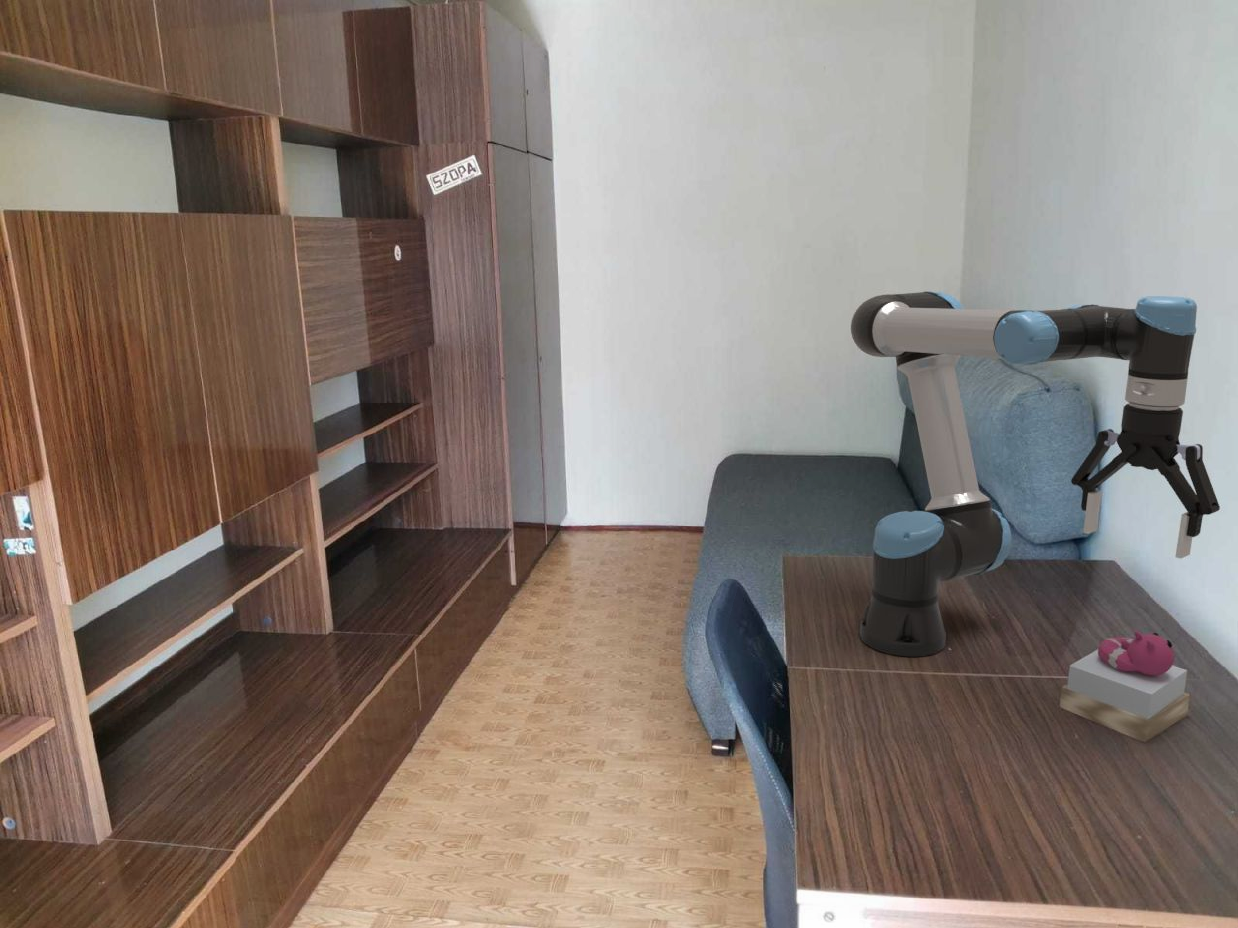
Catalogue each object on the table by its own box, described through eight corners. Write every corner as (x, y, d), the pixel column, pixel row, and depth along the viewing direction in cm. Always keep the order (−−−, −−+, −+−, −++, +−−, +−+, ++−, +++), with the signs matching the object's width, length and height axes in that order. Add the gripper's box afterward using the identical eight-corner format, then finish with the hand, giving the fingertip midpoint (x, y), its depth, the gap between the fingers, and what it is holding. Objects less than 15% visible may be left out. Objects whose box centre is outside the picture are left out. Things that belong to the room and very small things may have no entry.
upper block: (1067, 688, 142) (1069, 665, 141) (1104, 666, 149) (1107, 644, 148) (1148, 719, 133) (1151, 694, 132) (1184, 694, 140) (1187, 670, 139)
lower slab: (1059, 709, 144) (1061, 686, 143) (1102, 685, 151) (1105, 663, 150) (1144, 745, 133) (1147, 720, 132) (1186, 717, 141) (1190, 694, 140)
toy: (1197, 677, 137) (1179, 633, 133) (1147, 710, 137) (1127, 667, 133) (1142, 637, 147) (1124, 595, 143) (1096, 668, 147) (1076, 627, 143)
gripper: (1057, 396, 140) (1042, 527, 145) (1237, 422, 120) (1213, 573, 126) (1083, 390, 144) (1068, 518, 150) (1262, 415, 124) (1237, 561, 130)
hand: (1134, 543), depth 138 cm, fingers open, 13 cm apart
